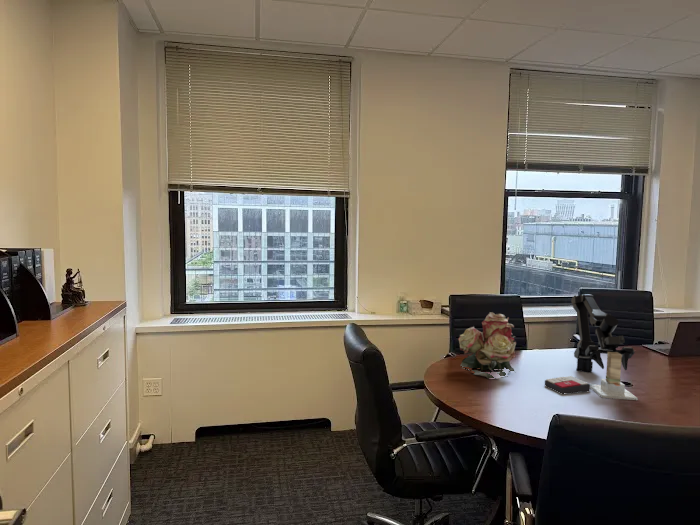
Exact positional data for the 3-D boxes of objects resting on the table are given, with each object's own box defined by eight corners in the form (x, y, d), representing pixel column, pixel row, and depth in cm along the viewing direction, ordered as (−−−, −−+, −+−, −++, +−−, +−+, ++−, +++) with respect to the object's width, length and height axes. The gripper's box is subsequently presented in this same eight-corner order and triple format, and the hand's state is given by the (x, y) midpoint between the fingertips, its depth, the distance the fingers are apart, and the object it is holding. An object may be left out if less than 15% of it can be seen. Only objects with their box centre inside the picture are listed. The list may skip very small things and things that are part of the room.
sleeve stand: (588, 386, 198) (589, 374, 198) (621, 388, 196) (622, 376, 196) (601, 397, 185) (602, 385, 184) (637, 400, 183) (638, 387, 182)
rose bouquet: (450, 366, 225) (452, 309, 223) (497, 362, 234) (500, 307, 232) (480, 382, 201) (483, 318, 199) (531, 377, 210) (534, 316, 208)
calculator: (544, 378, 198) (571, 374, 202) (544, 387, 199) (571, 383, 203) (562, 386, 188) (590, 382, 192) (562, 396, 188) (590, 391, 192)
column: (605, 380, 193) (607, 351, 192) (615, 380, 192) (617, 352, 191) (609, 383, 188) (611, 354, 188) (620, 384, 188) (622, 354, 187)
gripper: (589, 327, 194) (598, 358, 184) (634, 329, 192) (645, 361, 182) (581, 340, 203) (589, 371, 193) (624, 342, 200) (634, 373, 190)
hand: (614, 369), depth 189 cm, fingers open, 9 cm apart
